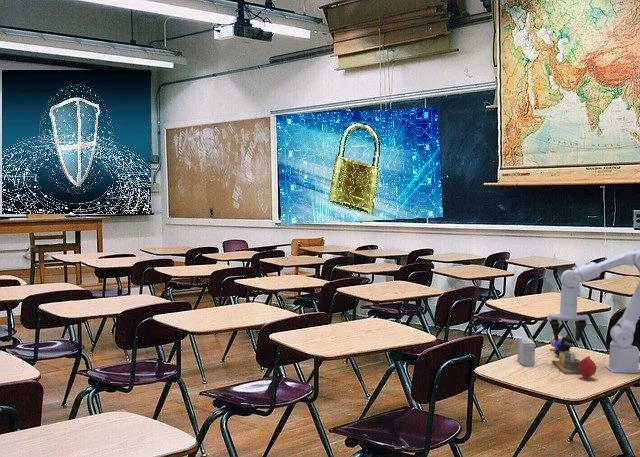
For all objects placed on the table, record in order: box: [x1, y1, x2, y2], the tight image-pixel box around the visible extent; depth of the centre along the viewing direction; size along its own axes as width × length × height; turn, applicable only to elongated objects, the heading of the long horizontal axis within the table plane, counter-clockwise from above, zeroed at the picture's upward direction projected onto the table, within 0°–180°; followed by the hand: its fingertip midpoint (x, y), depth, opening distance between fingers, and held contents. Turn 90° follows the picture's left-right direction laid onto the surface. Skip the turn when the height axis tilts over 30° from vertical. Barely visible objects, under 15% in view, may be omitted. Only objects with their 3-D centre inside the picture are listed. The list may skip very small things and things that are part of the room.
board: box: [551, 350, 582, 376], centre depth 266 cm, size 10×14×6 cm
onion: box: [578, 355, 597, 380], centre depth 254 cm, size 6×6×8 cm
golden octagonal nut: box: [558, 352, 576, 365], centre depth 269 cm, size 5×5×4 cm
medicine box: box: [516, 337, 536, 367], centre depth 272 cm, size 8×4×9 cm, turn 179°
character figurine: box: [549, 334, 574, 355], centre depth 286 cm, size 8×7×15 cm
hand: (566, 340), depth 269 cm, fingers open, 7 cm apart
